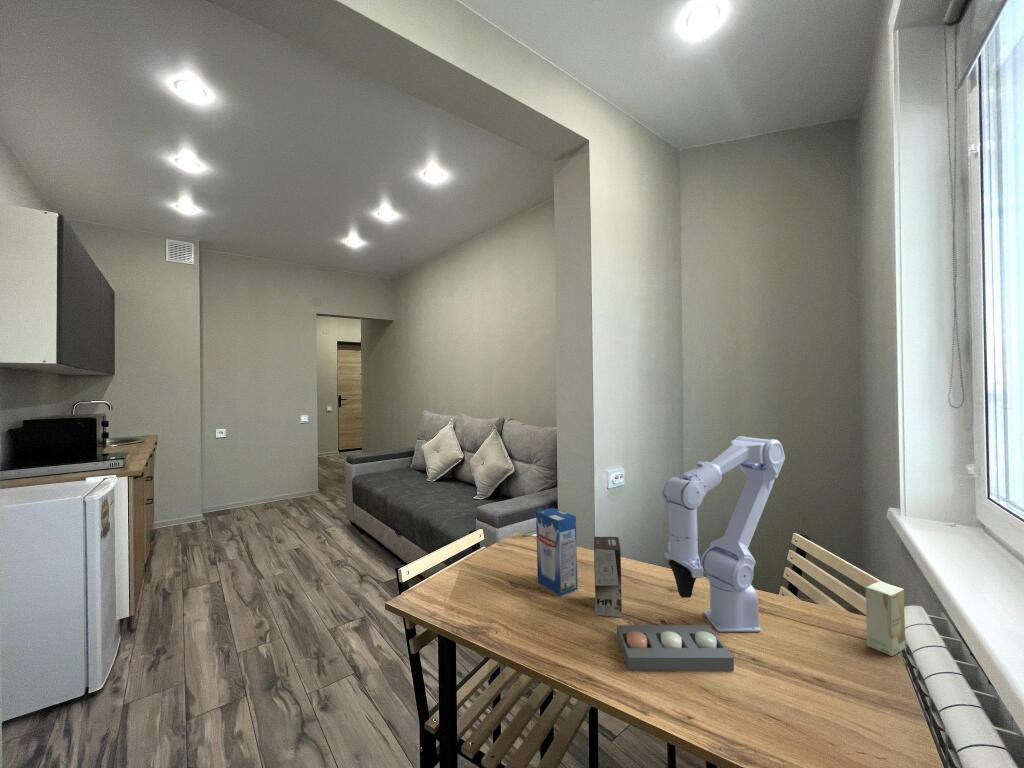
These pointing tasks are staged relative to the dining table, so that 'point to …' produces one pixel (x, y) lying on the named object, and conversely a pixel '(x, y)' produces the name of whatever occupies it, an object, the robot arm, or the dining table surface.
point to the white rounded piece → (671, 640)
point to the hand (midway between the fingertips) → (684, 596)
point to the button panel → (673, 650)
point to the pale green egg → (705, 640)
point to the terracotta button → (636, 640)
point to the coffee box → (607, 576)
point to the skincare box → (885, 618)
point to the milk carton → (556, 551)
